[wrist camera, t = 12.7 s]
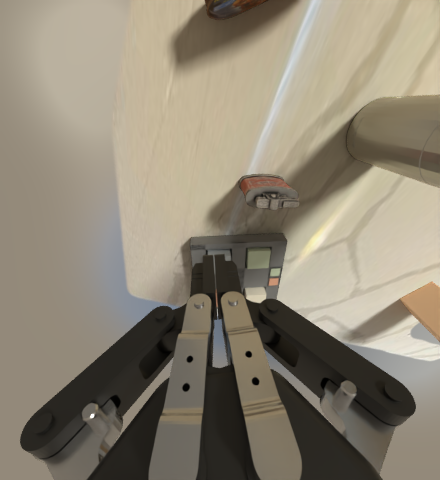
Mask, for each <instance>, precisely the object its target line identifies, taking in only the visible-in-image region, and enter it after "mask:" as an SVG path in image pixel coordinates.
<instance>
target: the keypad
mask: <svg viewBox="0 0 440 480" xmlns="http://www.w3.org/2000/svg"><path fill="white" fill-rule="evenodd" d="M286 245H287V240H286V238H285V236H284V235H283V233H274V234H252V235H230V236H207V237H191V242H190V249H191V258H192V267H194V265H195V264H196V263H203V255H208V250H212V249H230V253H231V261H233V262H234V263H235V264H236V265H237V270H238V275H239V280H240V285H241V290H242V294H243V296H244V292H245V288H253V287H264V288H265V291H266V299H277V294H278V288H279V283H280V278H281V272H282V267H283V261H284V256H285V251H286ZM254 247H269V248H270V250H271V254H270V261H269V268H260V269H247V266H246V262H245V261H246V248H254ZM215 289H216V275H215ZM217 309H218V307H217Z"/></svg>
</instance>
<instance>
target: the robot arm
mask: <svg viewBox="0 0 440 480" xmlns="http://www.w3.org/2000/svg"><path fill="white" fill-rule="evenodd" d="M347 148H348V151H349V153H350V154H351V155H352V156H353V157H354V158H355V159H357V160H360V161H363V162H366V163H368V164H371V165H374V166H377V167H380V168H383V169H386V170H388V171H391V172H394V173H397V174H400V175H403V176H406V177H409V178H412V179H415V180H417V181H420V182H423V183H426V184H429V185H432V186H435V187H438V188H440V95H422V96H401V97H384V98H380V99H376V100H374V101H372V102H370V103H369V104H368V105H366V106H365V107H364V108H363V109H362V110H361V111H360V112H359V113H358V114H357V115H356V117H355V118H354V119H353V121H352V123H351V125H350V127H349V130H348V134H347ZM214 259H215V273H214ZM215 275H216V289H215ZM216 290H217V305H218V319H222V331H223V337H224V343H225V349H226V356H227V362H228V366H225V367H223V368H215V367H213V339H214V320H217V305H216ZM264 349H265V350H266V351H267V352H268V353H270V354H271V355H272V356H273V357H274V358H275V359H276V360H277V361H278V362H280V363H281V364H282V365H283V366H284V367H285V368H286V369H287V370H289V371H290V372H291V373H292V374H293V375H294V376H295V377H296V378H298V379H299V380H300V381H301V382H302V383H303V384H304V385H306V386H307V387H308V388H309V389H310V390H311V391H312V392H313V393H314V394H316V395H317V396H318V397H319V398H320V406H321V409H322V411H323V413H324V415H325V416H326V418H327V419H328V420H329V421H330V422H331V423H332V424H331V423H330V422H329V421H328V420H327V419H326V418H324V416H323V415H321V413H320V412H319V411H318V410H317V409H315V407H313V406H312V405H311V404H310V403H309V402H308V401H307V400H306V399H305V398H304V397H303V396H302V395H301V394H300V393H299V392H298V391H297V390H296V389H295V388H294V387H293V386H292V385H291V384H290V383H289V382H288V381H287V380H286V379H285V378H284V377H283V376H282V375H280V374H279V373H278V372H276V371H274V370H272V369H270V367H269V364H268V360H267V357H266V354H265V351H264ZM173 357H174V359H173V363H172V368H171V373H170V377H169V378H168V379H166V380H165V381H164V382H163V383H162V384H161V385H160V386H159V387H158V388H157V389H156V390H155V392H154V393H153V394H152V395H151V397H150V398H149V399H148V401H147V402H146V403H145V404H144V406H143V407H142V409H141V410H140V411H139V412H138V414H137V415H136V416H135V418H134V419H133V420H132V421H131V423H130V424H129V425H128V427H127V428H126V429H125V431H124V432H123V433H122V434H121V436H120V437H119V438H118V436H119V435H120V432H121V429H122V426H123V415H124V414H125V413H126V412H127V410H129V408H130V407H131V406H132V405H133V404H134V403H135V401H136V400H137V399H138V398H139V397H140V395H141V394H142V393H143V392H144V391H145V390H146V388H147V387H148V386H149V385H150V384H151V383H152V381H153V380H154V379H155V378H156V377H157V376H158V374H159V373H160V372H161V371H162V370H163V369H164V367H165V366H166V365H167V364H168V363H169V362H170V360H171V359H172V358H173ZM415 409H416V405H415V402H414V398H413V396H412V395H411V393H410V392H409V391H408V389H407V388H406V387H405V386H404V385H403V384H402V383H400V382H399V381H398V380H396V379H395V378H393V377H392V376H390V375H389V374H387V373H386V372H384V371H383V370H381V369H380V368H378V367H377V366H375V365H374V364H372V363H371V362H369V361H368V360H366V359H365V358H363V357H362V356H361V355H359V354H358V353H356V352H355V351H353V350H352V349H350V348H349V347H347V346H345V345H344V344H343V343H341V342H340V341H338V340H337V339H335V338H334V337H332V336H331V335H329V334H328V333H326V332H325V331H323V330H322V329H320V328H319V327H317V326H316V325H314V324H313V323H311V322H310V321H308V320H307V319H305V318H304V317H302V316H301V315H299V314H298V313H296V312H295V311H293V310H292V309H290V308H289V307H287V306H286V305H284V304H283V303H281V302H280V301H278V300H276V299H265V300H263V301H262V302H261V303H257V302H252V301H250V300H248V299H246V298H245V297H244V296H243V294H242V290H241V285H240V280H239V275H238V270H237V265H236V264H235V263H234V262H233V261H225V254H216V255H214V258H213V255H203V263H196V264H195V265H194V267H193V268H192V281H191V294H190V298H189V300H188V301H187V303H186V304H185V305H184V306H182V307H180V308H177V309H175V310H172V309H171V308H170V307H168V306H160V307H157V308H155V309H154V310H152V311H151V312H150V313H149V314H148V315H147V316H145V317H144V318H143V319H142V320H141V321H140V322H139V323H137V324H136V325H135V326H134V327H133V328H132V329H131V330H130V331H128V332H127V333H126V334H125V335H124V336H123V337H121V338H120V339H119V340H118V341H117V342H116V343H115V344H113V346H111V347H110V348H109V349H108V350H107V351H106V352H104V353H103V354H102V355H101V356H100V357H99V358H97V359H96V360H95V361H94V362H93V363H92V364H91V365H90V366H88V367H87V368H86V369H85V370H84V371H83V372H82V373H80V374H79V375H78V376H77V377H76V378H75V379H74V380H72V381H71V382H70V383H69V384H68V385H67V386H66V387H64V388H63V389H62V390H61V391H60V392H59V393H58V394H57V395H55V396H54V397H53V398H52V399H51V400H50V401H48V402H47V403H46V404H45V405H44V406H43V407H42V408H41V409H39V410H38V411H37V412H36V413H35V414H34V415H33V416H32V417H31V418H30V420H29V421H28V422H27V424H26V425H25V427H24V429H23V431H22V434H21V439H20V443H21V446H22V448H23V449H24V450H25V451H27V452H29V453H31V454H33V456H34V457H35V458H36V459H38V460H39V461H41V462H43V463H45V464H46V465H47V467H48V469H49V471H50V472H51V474H52V476H53V478H54V480H382V478H381V477H380V475H379V474H380V471H381V468H382V465H383V462H384V459H385V456H386V453H387V450H388V447H389V444H390V441H391V438H392V435H393V432H394V430H396V429H397V428H398V427H399V426H400V425H401V424H402V423H403V422H405V421H406V420H407V419H408V418H409V417H410V416H411V415H413V414H414V412H415ZM117 438H118V440H117V441H116V439H117ZM115 441H116V442H115ZM114 442H115V443H114ZM113 444H114V445H113Z"/></svg>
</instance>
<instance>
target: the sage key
mask: <svg viewBox="0 0 440 480" xmlns="http://www.w3.org/2000/svg"><path fill="white" fill-rule="evenodd" d="M270 254H271V250H270V248H269V247H254V248H246V261H245V262H246V266H247V269H260V268H269V261H270Z"/></svg>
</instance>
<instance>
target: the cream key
mask: <svg viewBox="0 0 440 480" xmlns="http://www.w3.org/2000/svg"><path fill="white" fill-rule="evenodd" d="M244 297H245V298H246V299H248V300H250V301H252V302H257V303H261V302H262V301H263V300H265V299H266V291H265V288H264V287H253V288H245V292H244Z"/></svg>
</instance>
